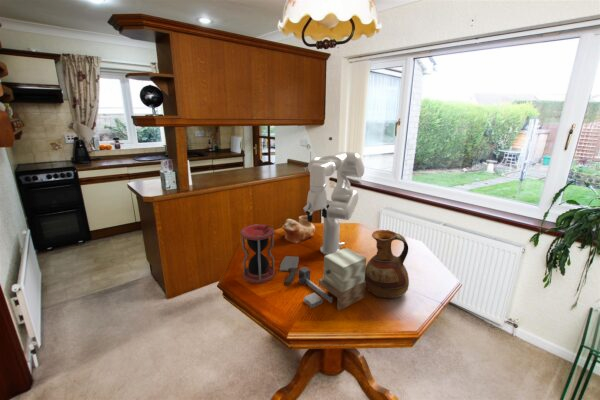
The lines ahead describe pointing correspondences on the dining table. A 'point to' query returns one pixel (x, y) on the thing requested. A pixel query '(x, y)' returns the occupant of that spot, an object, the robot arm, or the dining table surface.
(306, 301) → the rectangular block
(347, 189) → the robot arm
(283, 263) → the cleaver
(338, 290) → the cabinet
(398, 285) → the ceramic pitcher
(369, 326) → the dining table surface
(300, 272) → the hammer
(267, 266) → the hourglass
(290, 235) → the tan rock
